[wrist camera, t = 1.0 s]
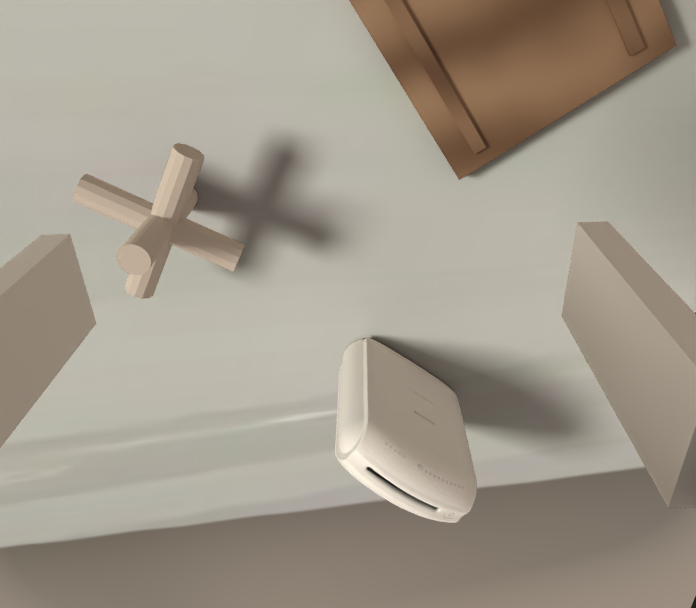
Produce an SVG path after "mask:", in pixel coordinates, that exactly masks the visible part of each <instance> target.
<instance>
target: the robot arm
mask: <svg viewBox="0 0 696 608" xmlns="http://www.w3.org/2000/svg"><path fill="white" fill-rule="evenodd" d="M562 318H563V319H564V321H565V323H566V325H567V327H568V328H569V330H570V332H571V334H572V336H573V337H574V339H575V341H576V343H577V345H578V346H579V348H580V350H581V352H582V354H583V355H584V357H585V359H586V361H587V363H588V364H589V366H590V368H591V370H592V372H593V373H594V375H595V377H596V379H597V380H598V382H599V384H600V386H601V388H602V389H603V391H604V393H605V395H606V397H607V398H608V400H609V402H610V404H611V406H612V407H613V409H614V411H615V413H616V415H617V416H618V418H619V420H620V422H621V424H622V425H623V427H624V429H625V431H626V433H627V434H628V436H629V438H630V440H631V442H632V443H633V445H634V447H635V449H636V451H637V452H638V454H639V456H640V458H641V460H642V461H643V463H644V465H645V467H646V469H647V470H648V472H649V474H650V476H651V477H652V479H653V481H654V483H655V485H656V487H657V488H658V490H659V492H660V494H661V496H662V497H663V499H664V501H665V503H666V504H667V506H668V508H689V507H690V508H696V313H694V312H693V311H692V310H691V309H690V308H689V306H688V305H687V304H686V303H685V302H684V301H683V300H682V299H681V298H680V297H679V296H678V295H677V294H676V293H675V292H674V291H673V290H672V289H671V288H670V286H669V285H668V284H667V283H666V282H665V281H664V280H663V279H662V278H661V277H660V276H659V275H658V274H657V273H656V272H655V271H654V270H653V269H652V267H651V266H650V265H649V264H648V263H647V262H646V261H645V260H644V259H643V258H642V257H641V256H640V255H639V254H638V253H637V252H636V251H635V250H634V249H633V247H632V246H631V245H630V244H629V243H628V242H627V241H626V240H625V239H624V238H623V237H622V236H621V235H620V234H619V233H618V232H617V231H616V230H615V228H614V227H613V226H612V225H611V224H610V223H609V222H577V226H576V232H575V238H574V244H573V250H572V256H571V262H570V268H569V274H568V280H567V286H566V292H565V298H564V304H563V310H562ZM95 324H96V321H95V317H94V314H93V311H92V307H91V304H90V300H89V297H88V294H87V290H86V287H85V283H84V280H83V277H82V273H81V270H80V266H79V263H78V259H77V256H76V253H75V249H74V246H73V242H72V239H71V236H70V234H54V235H41V236H40V237H38V238H37V239H36V240H35V241H33V242H32V243H31V244H30V245H28V246H27V247H26V248H25V249H23V250H22V251H21V252H20V253H19V254H17V255H16V256H15V257H14V258H12V259H11V260H10V261H9V262H7V263H6V264H5V265H4V266H3V267H1V268H0V448H1V446H2V445H3V444H4V443H5V441H6V440H7V439H8V437H9V436H10V435H11V433H12V432H13V431H14V430H15V428H16V427H17V426H18V424H19V423H20V422H21V420H22V419H23V418H24V417H25V415H26V414H27V413H28V411H29V410H30V409H31V407H32V406H33V405H34V404H35V402H36V401H37V400H38V398H39V397H40V396H41V394H42V393H43V392H44V391H45V389H46V388H47V387H48V385H49V384H50V383H51V381H52V380H53V379H54V378H55V376H56V375H57V374H58V372H59V371H60V370H61V369H62V367H63V366H64V365H65V363H66V362H67V361H68V359H69V358H70V357H71V356H72V354H73V353H74V352H75V350H76V349H77V348H78V346H79V345H80V344H81V343H82V341H83V340H84V339H85V337H86V336H87V335H88V333H89V332H90V331H91V330H92V328H93V327H94V326H95ZM691 608H696V597H695V599H694V602H693V604H692V606H691Z"/></svg>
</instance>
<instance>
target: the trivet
mask: <svg viewBox="0 0 696 608" xmlns="http://www.w3.org/2000/svg"><path fill="white" fill-rule="evenodd" d="M349 1H350V2H351V4H352V6H353V7H354V9H355V10H356V12H357V14H358V15H359V17H360V19H361V20H362V22H363V23H364V25H365V27H366V28H367V30H368V32H369V33H370V35H371V37H372V38H373V40H374V41H375V43H376V45H377V46H378V48H379V50H380V51H381V53H382V55H383V56H384V58H385V59H386V61H387V63H388V64H389V66H390V68H391V69H392V71H393V72H394V74H395V76H396V77H397V79H398V81H399V82H400V84H401V86H402V87H403V89H404V90H405V92H406V94H407V95H408V97H409V99H410V100H411V102H412V103H413V105H414V107H415V108H416V110H417V112H418V113H419V115H420V117H421V118H422V120H423V121H424V123H425V125H426V126H427V128H428V130H429V131H430V133H431V135H432V136H433V138H434V139H435V141H436V143H437V144H438V146H439V148H440V149H441V151H442V152H443V154H444V156H445V157H446V159H447V161H448V162H449V164H450V166H451V167H452V169H453V170H454V172H455V174H456V175H457V177H458V179H459V180H460V179H462V178H463V177H465V176H467V175H468V174H470V173H471V172H473V171H475V170H476V169H478V168H480V167H481V166H483V165H484V164H486V163H488V162H489V161H491V160H492V159H494V158H496V157H497V156H499V155H500V154H502V153H504V152H505V151H507V150H509V149H510V148H512V147H513V146H515V145H517V144H518V143H520V142H521V141H523V140H525V139H526V138H528V137H530V136H531V135H533V134H534V133H536V132H538V131H539V130H541V129H542V128H544V127H546V126H547V125H549V124H550V123H552V122H554V121H555V120H557V119H559V118H560V117H562V116H563V115H565V114H567V113H568V112H570V111H571V110H573V109H575V108H576V107H578V106H579V105H581V104H583V103H584V102H586V101H588V100H589V99H591V98H592V97H594V96H596V95H597V94H599V93H600V92H602V91H604V90H605V89H607V88H609V87H610V86H612V85H613V84H615V83H617V82H618V81H620V80H621V79H623V78H625V77H626V76H628V75H629V74H631V73H633V72H634V71H636V70H638V69H639V68H641V67H642V66H644V65H646V64H647V63H649V62H650V61H652V60H654V59H655V58H657V57H658V56H660V55H662V54H663V53H665V52H667V51H668V50H670V49H671V48H673V47H675V46H676V43H675V40H674V38H673V35H672V32H671V30H670V27H669V25H668V22H667V19H666V17H665V14H664V12H663V9H662V6H661V4H660V1H659V0H349Z"/></svg>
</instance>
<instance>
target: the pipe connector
mask: <svg viewBox="0 0 696 608" xmlns="http://www.w3.org/2000/svg"><path fill="white" fill-rule="evenodd" d="M203 161H204V155H203V154H202V153H201V152H200V151H198V150H197V149H195V148H193V147H191V146H188V145H185V144H179V143H178V144H174V145H173V148H172V151H171V154H170V157H169V160H168V163H167V166H166V168H165V171H164V174H163V177H162V180H161V183H160V186H159V189H158V192H157V195H156V197H155V200H154V203H151V202H148V201H146V200H144V199H142V198H140V197H137V196H135V195H133V194H131V193H128V192H126V191H124V190H122V189H120V188H117V187H115V186H113V185H111V184H108V183H106V182H104V181H102V180H99V179H97V178H95V177H93V176H91V175H88V174H85V175H84V176H83V177H82V178H81V179H80V181H79V183H78V185H77V187H76V190H75V193H74V198H73V200H74V202H75V203H78V204H80V205H82V206H85V207H87V208H89V209H91V210H94V211H96V212H98V213H101V214H103V215H105V216H107V217H110V218H112V219H114V220H117V221H119V222H121V223H123V224H126V225H128V226H130V227H133V228H135V229H136V231H135V232H134V233H133V234H132V235H131V236H130V237H129V239H128V240H127V241H126V242H125V243H124V244H123V245H122V246H121V248H120V249H119V250H118V252H117V262H118V264H119V266H120V267H121V268H122V269H123V270H124V271H125V272H127V273H129V276H128V279H127V282H126V285H125V289H126V290H127V292H128V293H130V294H131V295H133V296H134V297H138V298H150V297H151V296H153V294H154V291H155V289H156V286H157V283H158V281H159V278H160V275H161V273H162V270H163V267H164V265H165V262H166V259H167V257H168V254H169V251H170V249H171V246H172V245H174V246H176V247H178V248H180V249H183V250H185V251H187V252H190V253H192V254H194V255H196V256H199V257H201V258H203V259H206V260H208V261H210V262H212V263H215V264H217V265H219V266H222V267H224V268H226V269H228V270H231V271H234V269H235V267H236V265H237V262H238V260H239V258H240V256H241V253H242V251H243V249H244V247H245V245H244V244H242V243H240V242H237V241H235V240H233V239H231V238H228V237H226V236H224V235H222V234H220V233H217V232H215V231H213V230H211V229H208V228H206V227H204V226H202V225H200V224H197V223H195V222H193V221H191V220H188V219H186V218H187V216H188V215H189V213H190V212H191V211H192V209H193V208H194V206H195V205H196V203H197V201H198V195H197V192H196V191H195V189H194V185H195V182H196V180H197V177H198V174H199V172H200V169H201V166H202V164H203Z"/></svg>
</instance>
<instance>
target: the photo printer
mask: <svg viewBox="0 0 696 608" xmlns="http://www.w3.org/2000/svg"><path fill="white" fill-rule="evenodd" d="M335 453H336V457H337V459H338V461H339V462H340V463H341V464H342V465H343V466H344V467H345V468H346V469H347V470H348V472H350V473H351V474H352V475H353V476H354V477H355V478H356V479H358V480H359V481H360V482H361V483H363V484H364V485H365V486H367V487H368V488H369V489H371V490H372V491H374V492H375V493H377V494H378V495H379V496H381V497H382V498H385V499H386V500H388V501H389V502H391V503H393V504H395V505H397V506H399V507H401V508H403V509H405V510H407V511H409V512H412V513H414V514H416V515H419V516H422V517H425V518H428V519H432V520H436V521H442V522H458V521H459V519H460V518H461V517H462V516H463V515H465V514H467V513H469V511H470V510H471V508H472V505H473V503H474V500H475V496H476V490H477V482H476V476H475V472H474V467H473V462H472V458H471V453H470V449H469V445H468V440H467V436H466V432H465V427H464V423H463V418H462V414H461V409H460V405H459V401H458V398H457V396H456V394H455V393H454V392H453V391H452V390H451V389H450V388H449V387H448V386H447V385H446V384H444V383H443V382H441V381H440V380H439V379H437V378H436V377H434V376H433V375H431V374H430V373H428V372H427V371H425V370H424V369H422V368H421V367H419V366H417V365H416V364H414V363H413V362H411V361H410V360H408V359H406V358H405V357H403V356H401V355H400V354H398V353H396V352H395V351H393V350H391V349H390V348H388V347H386V346H385V345H383V344H381V343H379V342H377V341H375V340H373V339H370V338H365V340H364V339H361V340H358V341H356V342H354V343H352V344H351V345H350V346H348V348H347V349H346V350H345V352H344V354H343V361H342V365H341V366H340V369H339V386H338V408H337V428H336V447H335Z"/></svg>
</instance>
